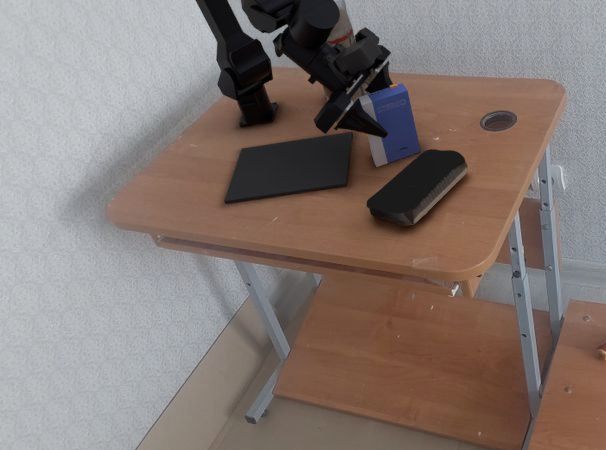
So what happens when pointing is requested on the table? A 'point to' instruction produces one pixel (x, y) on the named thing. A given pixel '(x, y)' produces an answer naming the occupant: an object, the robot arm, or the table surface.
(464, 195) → the table surface
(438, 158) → the black sponge
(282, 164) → the mat
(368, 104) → the walkman
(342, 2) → the beige cylindrical container
